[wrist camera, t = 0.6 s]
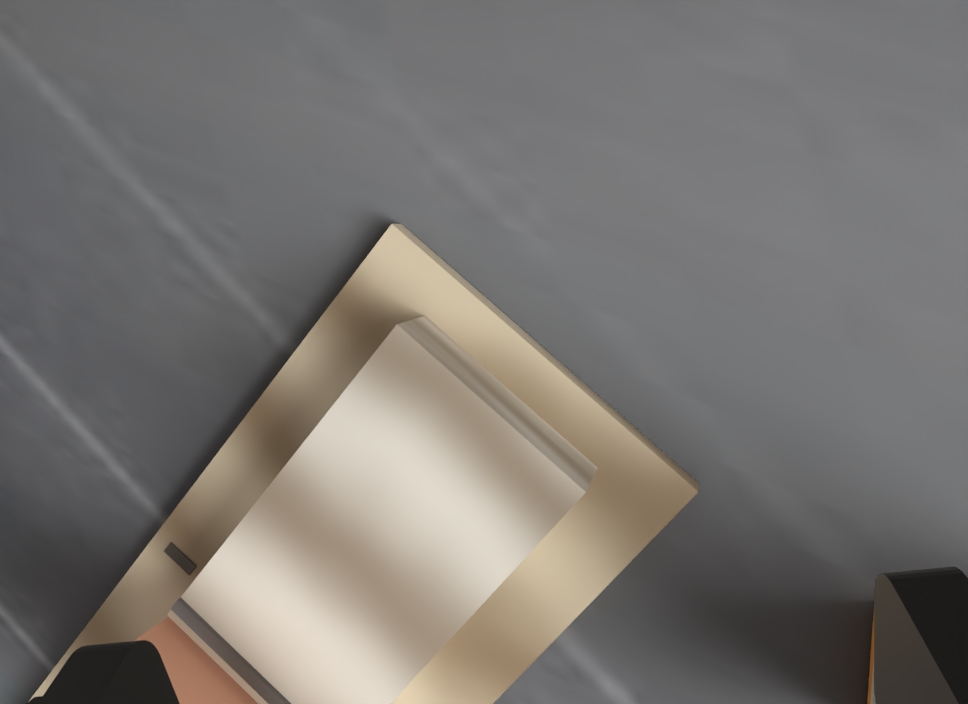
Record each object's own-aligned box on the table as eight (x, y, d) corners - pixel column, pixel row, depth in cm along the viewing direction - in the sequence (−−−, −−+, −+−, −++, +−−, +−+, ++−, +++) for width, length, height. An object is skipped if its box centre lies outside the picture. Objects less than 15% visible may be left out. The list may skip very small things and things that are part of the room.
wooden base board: (401, 224, 32) (356, 222, 28) (698, 483, 31) (697, 521, 27) (-17, 771, 40) (-98, 831, 36) (202, 996, 39) (143, 1084, 35)
